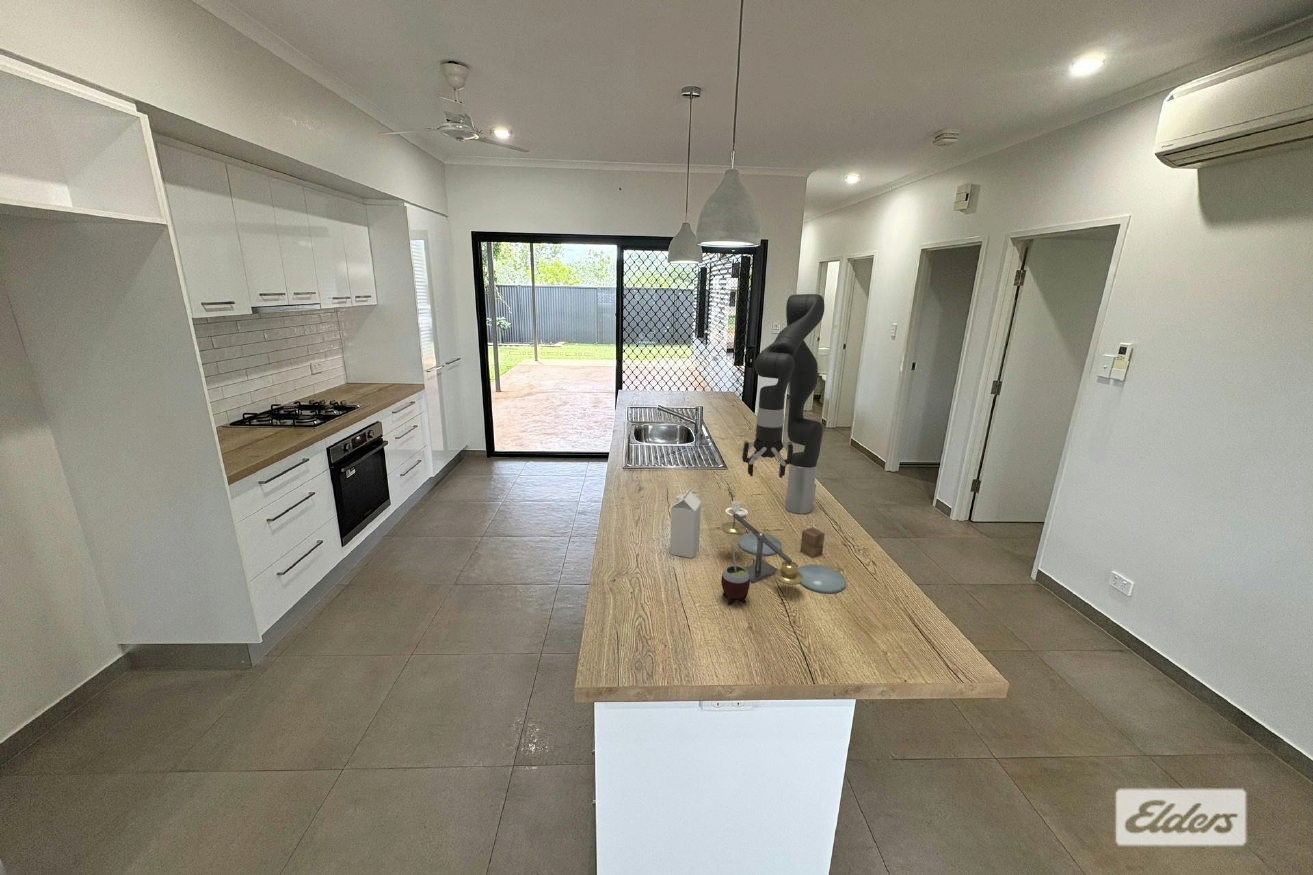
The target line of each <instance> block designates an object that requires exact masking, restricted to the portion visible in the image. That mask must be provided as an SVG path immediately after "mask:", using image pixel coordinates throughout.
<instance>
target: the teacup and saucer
mask: <svg viewBox="0 0 1313 875" xmlns="http://www.w3.org/2000/svg"><path fill="white" fill-rule="evenodd" d="M731 504H732V506H731V507H728V508H726V509H724V510H725V513H726V514H727V515H728V516H732V517H733V514H735V513H737V514H738V515H739V516H740V517H742V518H743V517H745V516H747V515H748V514H749V512H748V510H747V509H746V508H742V501H740V500H733V501H732V503H731ZM730 510H732V512H733V513H730V512H729V511H730Z"/></svg>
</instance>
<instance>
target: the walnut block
mask: <svg viewBox="0 0 1313 875" xmlns="http://www.w3.org/2000/svg"><path fill="white" fill-rule="evenodd" d="M824 542H825V532H823V531H821V530H819V529H817V528H815V527H814V526H813V527H809V528H806V529H803V530H802V532H801V541H800V550H799V551H800V553H802V554H803V555H805V556H808V557H809V558H811V559H813V558H815V557H819V556H822V555H823V548H824Z"/></svg>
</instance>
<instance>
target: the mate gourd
mask: <svg viewBox="0 0 1313 875" xmlns="http://www.w3.org/2000/svg"><path fill="white" fill-rule="evenodd" d="M727 538H728V540H729V543H730V546H731V548H730V550H731V553H732V560H733V565H730V566H727V567H726V568H725V569H724V570H723V571H722V575H721V579H720V583H721V584H720V585H721V588H722V590H723V593H722V597H724V598H727V599H728V603H727V605H728V606H732V604H733V603H734V602H739V603H742V604H744V605H745V604H746V603H747V600H746V599H747V597H748V595H749V594H748V593H749V589H750V585H751V584H750V583H751V582H750V578H749V574H748V572H747V571H746V570H745V569H744V567H742V566H739V565H737V563H736V554H735V551H736V550H735V546H734V544H733V540H732V539H731V536H730V534H729V535H727Z"/></svg>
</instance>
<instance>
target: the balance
mask: <svg viewBox="0 0 1313 875" xmlns="http://www.w3.org/2000/svg"><path fill="white" fill-rule="evenodd" d="M732 515H733V516H732V518H733V520H732V521H727V522H724V523H722V525H721V528H720V529H721V531H722V532H724V533H725V534H729V535H734V536H735V535H738V536H739V535H744V534H746V531H747V530H748V531H749V532H750V533H753V534H754V535H755V536H756V538H757V540H758V541H757V552H756V555H755V563H753V564H748V565H746V566H745V567H744V566H743V568H744V569H745V570H746V571H747V572H748V574H749V578H750V583H751V584H755V583H756V582H759V581H762V580H763V579H766V578H769V577H772V576H774V578H775V579H776V580H777V581H778V582H780V583H782V584H785V585H790V586H792V585H793V586H796V585H800V583H801V582H802V581H803V576H802V574H801V573H800V572H798V568H799V564H798V563H796V562H794V561H793V559H792V558H791V557H790V556H788V555H787V554H786V553H785V552H784V551H782V549H781V550H780V549H779V548H778V547H776V546H775V545H774V544H773V543H772V542H770V541H769V540H768V539H767V538H766V537H765V534H766V533H763V532H760V531H759V530H757V529H756V528H755V527H753V526H752V524H750V523H749V522H748V521H746V520H745V519H744V518H743V517H740V516H739V515H738V514H737V513H732ZM763 543H765V544H766V545H767V546H768V547H769V548H771V549H772V550H773V551H774V552H775V553H776V554H775V555H777V556H778V557H780V558H781V559H782V560H783V561H782V563H781V568H776V567H775V566H773V565H772V564H770V563H768V562H767V561H765V560H763V556H762V553H763Z"/></svg>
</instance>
